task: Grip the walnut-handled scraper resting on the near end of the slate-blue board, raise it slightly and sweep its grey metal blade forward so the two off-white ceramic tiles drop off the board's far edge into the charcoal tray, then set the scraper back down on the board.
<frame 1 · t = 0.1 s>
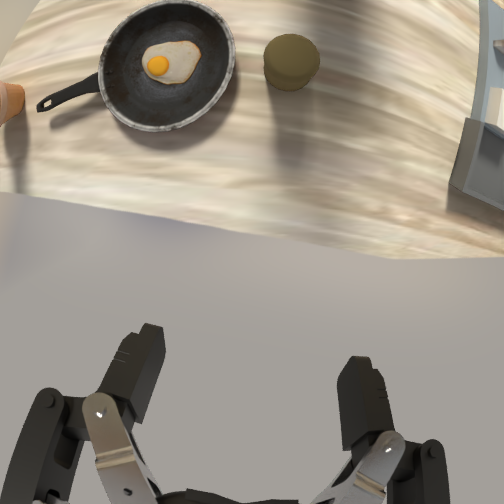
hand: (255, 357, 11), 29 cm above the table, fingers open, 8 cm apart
frying pan: (126, 75, 30), on the table
potted plant: (17, 100, 30), on the table
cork: (288, 69, 29), on the table
tray: (493, 168, 30), on the table
tile b: (499, 112, 24), point 2 cm above the table, touching board
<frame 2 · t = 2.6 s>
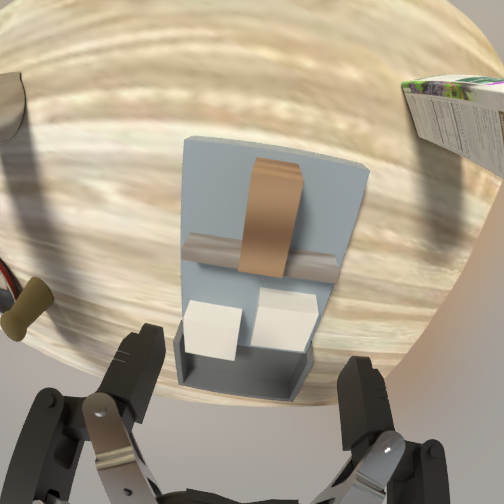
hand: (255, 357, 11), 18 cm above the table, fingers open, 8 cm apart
board: (259, 257, 30), on the table
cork: (42, 290, 38), on the table
tray: (242, 355, 39), on the table
tile b: (214, 322, 32), point 2 cm above the table, touching board
scraper: (270, 204, 24), point 2 cm above the table, touching board
syrup box: (430, 105, 20), on the table
tile a: (282, 311, 31), point 2 cm above the table, touching board
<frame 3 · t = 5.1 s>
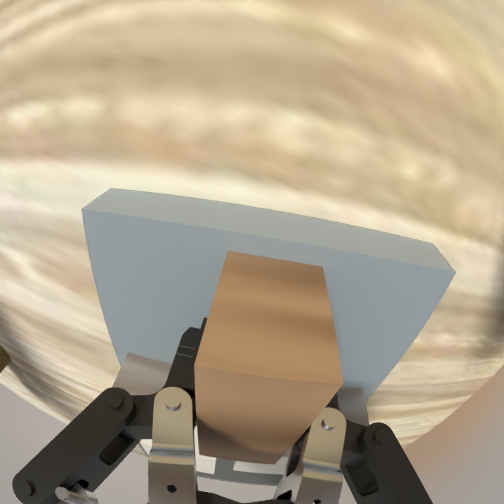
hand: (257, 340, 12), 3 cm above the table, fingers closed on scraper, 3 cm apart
board: (245, 372, 18), on the table
tray: (227, 445, 27), on the table
tile b: (186, 433, 20), point 2 cm above the table, touching board
scraper: (258, 332, 12), point 3 cm above the table, touching board, gripper
tile a: (277, 434, 19), point 2 cm above the table, touching board
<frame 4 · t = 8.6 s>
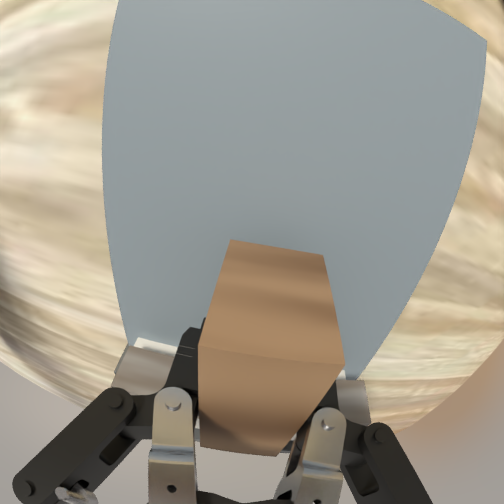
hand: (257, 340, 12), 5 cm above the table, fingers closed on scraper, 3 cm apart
board: (273, 211, 14), on the table
tile b: (183, 372, 18), point 3 cm above the table, touching scraper
scraper: (260, 322, 12), point 4 cm above the table, touching gripper, tile a, tile b
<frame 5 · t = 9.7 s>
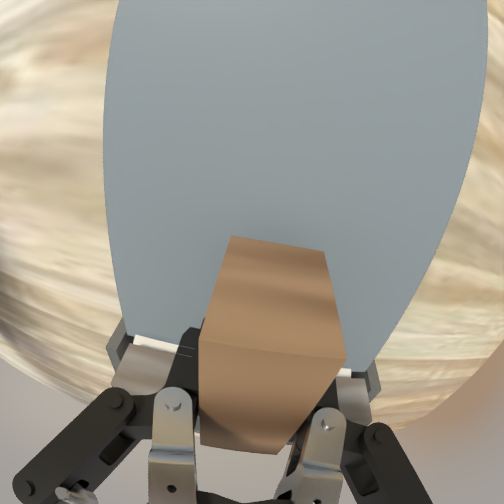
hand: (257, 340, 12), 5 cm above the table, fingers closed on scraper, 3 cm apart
board: (287, 151, 12), on the table
tray: (241, 374, 21), on the table
tile b: (186, 358, 18), point 2 cm above the table, tilted 21°, touching board, scraper, tray
scraper: (260, 319, 12), point 4 cm above the table, touching gripper, tile a, tile b
when the fingers open (4 cm above the table, at t = 11.2 s): scraper stays where it is, resting on board.
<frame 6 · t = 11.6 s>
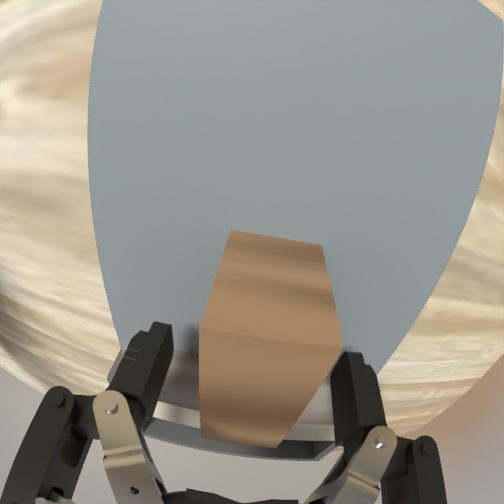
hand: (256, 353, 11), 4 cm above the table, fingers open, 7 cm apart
board: (280, 200, 12), on the table
tray: (238, 397, 22), on the table
tile b: (183, 385, 18), point 2 cm above the table, tilted 21°, touching board, tray
scraper: (260, 313, 13), point 2 cm above the table, touching board
tile a: (288, 402, 18), point 2 cm above the table, tilted 21°, touching board, tray
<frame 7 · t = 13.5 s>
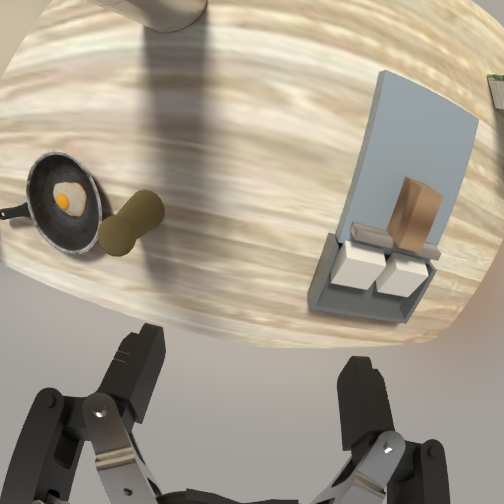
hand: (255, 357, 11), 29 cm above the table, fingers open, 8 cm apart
frying pan: (48, 201, 41), on the table
board: (409, 171, 33), on the table
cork: (146, 208, 40), on the table
tray: (369, 275, 42), on the table
tile b: (356, 258, 39), point 2 cm above the table, tilted 21°, touching board, tray
scraper: (406, 207, 33), point 2 cm above the table, touching board
syrup box: (499, 91, 23), on the table
tile a: (399, 268, 39), point 2 cm above the table, tilted 21°, touching board, tray
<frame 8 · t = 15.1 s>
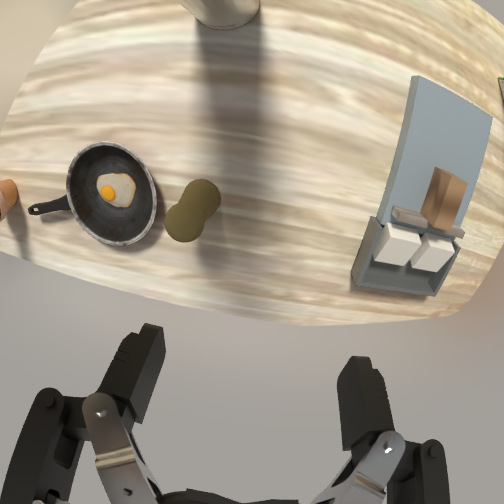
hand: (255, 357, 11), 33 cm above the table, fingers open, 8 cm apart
frying pan: (88, 194, 44), on the table
board: (436, 162, 36), on the table
potted plant: (12, 191, 45), on the table
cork: (202, 197, 43), on the table
tray: (403, 253, 45), on the table
tile b: (394, 238, 42), point 2 cm above the table, tilted 21°, touching board, tray
scraper: (435, 192, 36), point 2 cm above the table, touching board
tile a: (429, 246, 42), point 2 cm above the table, tilted 21°, touching board, tray
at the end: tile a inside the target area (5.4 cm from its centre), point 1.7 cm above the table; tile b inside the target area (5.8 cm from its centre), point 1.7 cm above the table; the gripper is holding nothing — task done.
